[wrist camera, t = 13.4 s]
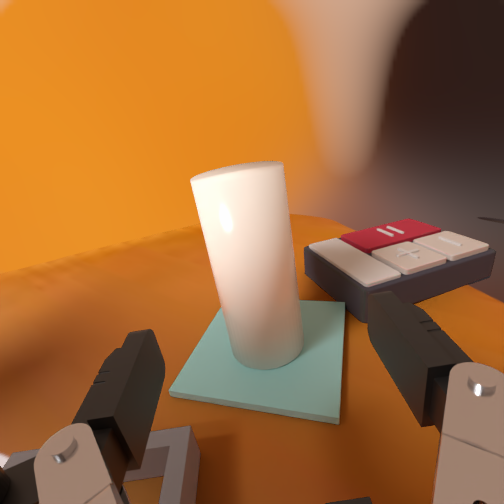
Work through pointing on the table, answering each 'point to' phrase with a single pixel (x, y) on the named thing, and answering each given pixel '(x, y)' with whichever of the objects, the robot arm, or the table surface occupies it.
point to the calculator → (396, 263)
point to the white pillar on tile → (252, 260)
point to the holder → (159, 464)
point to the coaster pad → (272, 370)
